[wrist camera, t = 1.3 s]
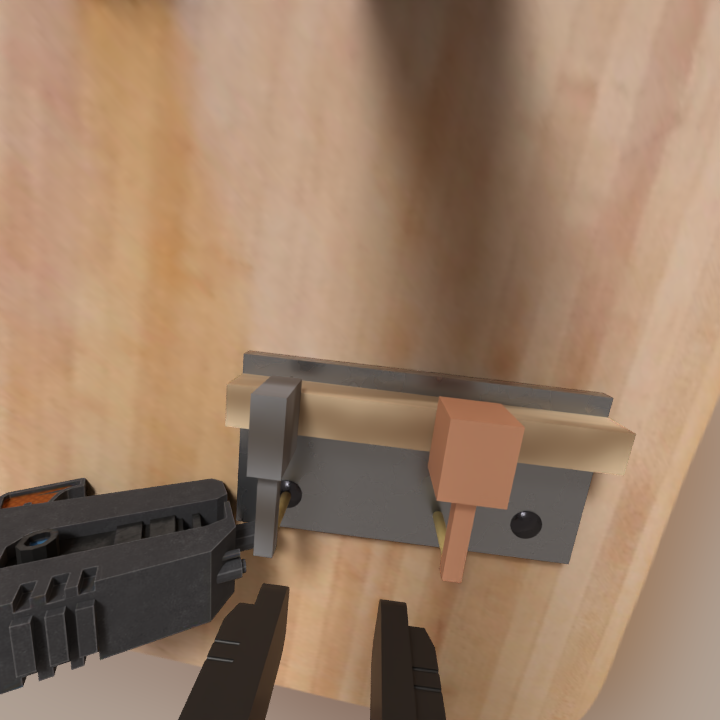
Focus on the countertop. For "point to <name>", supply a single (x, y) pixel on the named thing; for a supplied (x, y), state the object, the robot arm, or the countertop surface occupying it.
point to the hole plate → (420, 468)
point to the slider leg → (470, 470)
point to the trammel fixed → (388, 433)
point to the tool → (110, 570)
